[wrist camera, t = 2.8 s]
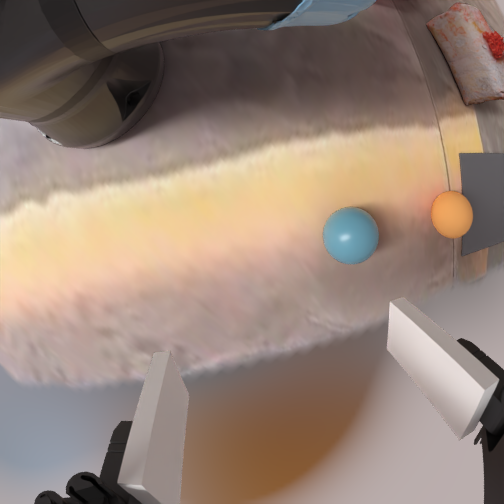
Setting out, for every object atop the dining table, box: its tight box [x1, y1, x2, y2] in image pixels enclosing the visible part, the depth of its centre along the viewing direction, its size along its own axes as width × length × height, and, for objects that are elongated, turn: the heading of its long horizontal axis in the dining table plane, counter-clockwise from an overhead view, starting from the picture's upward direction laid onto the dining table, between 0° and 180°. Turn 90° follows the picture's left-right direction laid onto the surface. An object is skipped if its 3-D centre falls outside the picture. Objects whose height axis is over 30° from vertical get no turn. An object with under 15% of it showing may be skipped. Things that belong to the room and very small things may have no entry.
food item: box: [426, 2, 504, 105], centre depth 19 cm, size 14×8×10 cm, turn 27°
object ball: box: [431, 191, 473, 238], centre depth 27 cm, size 6×6×6 cm
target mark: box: [459, 153, 504, 256], centre depth 30 cm, size 14×14×1 cm
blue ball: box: [323, 207, 379, 264], centre depth 26 cm, size 6×6×6 cm
